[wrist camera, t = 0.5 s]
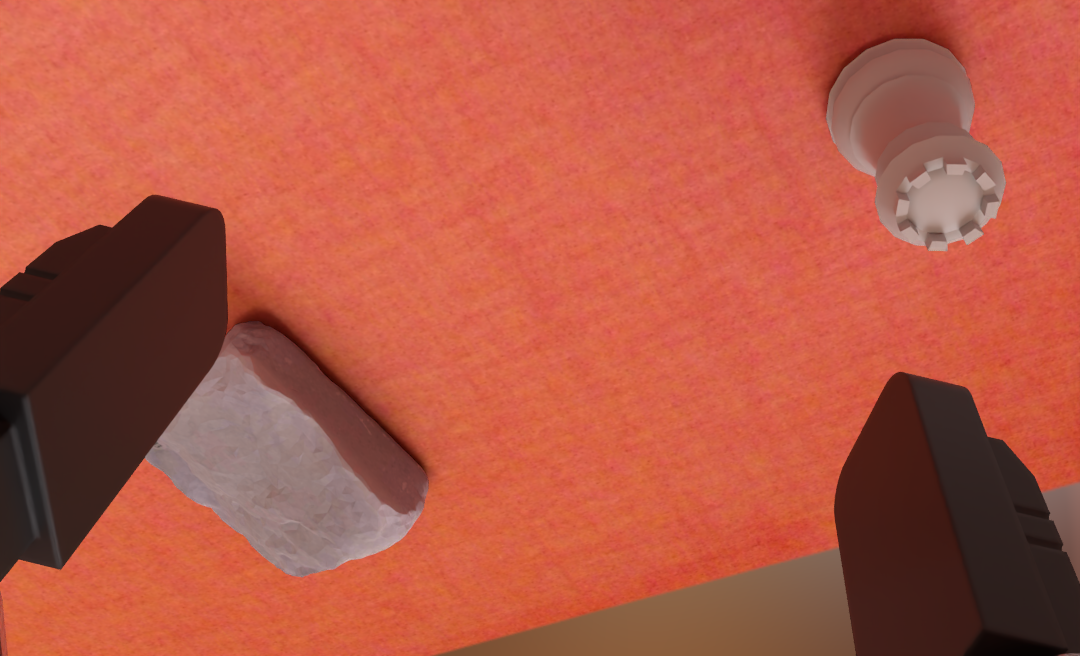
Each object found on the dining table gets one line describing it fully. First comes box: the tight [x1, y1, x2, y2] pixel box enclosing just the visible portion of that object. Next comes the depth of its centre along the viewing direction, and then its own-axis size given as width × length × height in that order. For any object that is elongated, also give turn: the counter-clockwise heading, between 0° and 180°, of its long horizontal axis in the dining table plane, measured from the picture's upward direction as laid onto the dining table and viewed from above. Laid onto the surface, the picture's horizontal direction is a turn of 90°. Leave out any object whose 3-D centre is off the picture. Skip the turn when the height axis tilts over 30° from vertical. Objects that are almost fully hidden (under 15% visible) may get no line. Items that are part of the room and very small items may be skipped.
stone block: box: [145, 321, 428, 577], centre depth 42 cm, size 12×5×10 cm
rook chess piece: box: [826, 39, 1006, 251], centre depth 27 cm, size 4×4×8 cm
